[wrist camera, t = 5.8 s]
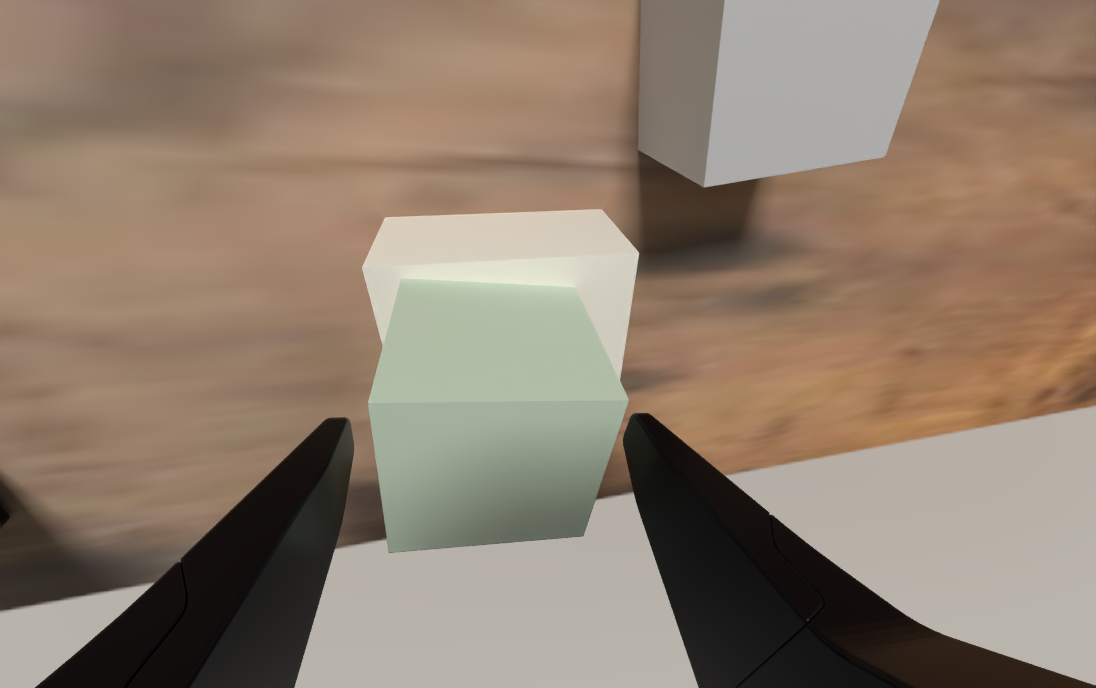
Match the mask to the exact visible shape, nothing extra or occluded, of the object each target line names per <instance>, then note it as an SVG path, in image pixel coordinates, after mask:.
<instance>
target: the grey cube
mask: <svg viewBox="0 0 1096 688" xmlns="http://www.w3.org/2000/svg"><path fill="white" fill-rule="evenodd" d="M939 1H940V0H641V4H640V61H639V118H638V150H639V151H641V152H643V153H644V154H646V155H648V156H650V157H651V158H653V159H655V160H657V161H658V162H660V163H662V164H664V165H665V166H667V167H669V168H671V169H672V170H674V171H676V172H678V173H679V174H681V175H683V176H685V177H686V178H688V179H690V180H692V181H693V182H695V183H697V184H699V185H700V186H702V187H710V186H716V185H722V184H728V183H734V182H740V181H745V180H751V179H757V178H763V177H769V176H775V175H781V174H787V173H793V172H799V171H805V170H811V169H816V168H822V167H828V166H834V165H840V164H846V163H852V162H858V161H864V160H870V159H876V158H881V157H885V155H886V152H887V150H888V147H889V144H890V141H891V138H892V135H893V132H894V130H895V127H896V124H897V121H898V118H899V115H900V112H901V110H902V107H903V104H904V101H905V98H906V95H907V92H908V90H909V87H910V84H911V81H912V78H913V75H914V72H915V70H916V67H917V64H918V61H919V58H920V55H921V52H922V50H923V47H924V44H925V41H926V38H927V35H928V32H929V30H930V27H931V24H932V21H933V18H934V15H935V12H936V10H937V7H938V4H939Z"/></svg>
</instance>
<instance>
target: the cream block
mask: <svg viewBox="0 0 1096 688" xmlns="http://www.w3.org/2000/svg"><path fill="white" fill-rule="evenodd" d="M638 258H639V252H638V251H637V250H636V249H635V247H634V246H633V245H632V244H631V243H630V242H629V240H628V239H627V238H626V237H625V236H624V235H623V234H622V232H621V231H620V230H619V229H618V228H617V227H616V225H615V224H614V223H613V222H612V221H611V220H610V219H609V217H608V216H607V215H606V214H605V213H604V212H603V210H602V209H597V210H571V211H544V212H518V213H491V214H465V215H438V216H412V217H385V219H384V221H383V223H382V225H381V228H380V230H379V232H378V234H377V236H376V238H375V241H374V243H373V245H372V247H371V249H370V251H369V254H368V256H367V258H366V260H365V262H364V264H363V267H362V270H363V274H364V277H365V281H366V285H367V289H368V292H369V296H370V300H371V304H372V307H373V311H374V315H375V319H376V322H377V326H378V330H379V334H380V338H381V341H382V345H384V341H385V337H386V333H387V330H388V326H389V322H390V318H391V315H392V311H393V307H394V303H395V300H396V296H397V292H398V288H399V284H400V281H401V278H407V279H427V280H446V281H466V282H486V283H505V284H525V285H544V286H564V287H576V289H577V292H578V294H579V296H580V298H581V300H582V302H583V304H584V306H585V308H586V311H587V313H588V315H589V317H590V319H591V321H592V323H593V325H594V327H595V330H596V332H597V334H598V336H599V338H600V340H601V342H602V344H603V347H604V349H605V351H606V353H607V355H608V357H609V359H610V361H611V363H612V366H613V368H614V370H615V372H616V374H617V376H618V378H619V380H620V376H621V369H622V363H623V356H624V349H625V343H626V336H627V330H628V323H629V317H630V310H631V304H632V297H633V290H634V284H635V277H636V271H637V264H638Z"/></svg>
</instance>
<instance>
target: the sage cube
mask: <svg viewBox="0 0 1096 688" xmlns="http://www.w3.org/2000/svg"><path fill="white" fill-rule="evenodd" d="M628 401H629V399H628V397H627V395H626V393H625V391H624V389H623V387H622V385H621V382H620V380H619V378H618V376H617V374H616V372H615V370H614V368H613V366H612V363H611V361H610V359H609V357H608V355H607V353H606V351H605V349H604V347H603V344H602V342H601V340H600V338H599V336H598V334H597V332H596V330H595V327H594V325H593V323H592V321H591V319H590V317H589V315H588V313H587V311H586V308H585V306H584V304H583V302H582V300H581V298H580V296H579V294H578V292H577V289H576V287H564V286H544V285H525V284H505V283H486V282H466V281H446V280H427V279H407V278H401V281H400V284H399V288H398V292H397V296H396V300H395V303H394V307H393V311H392V315H391V318H390V322H389V326H388V330H387V333H386V337H385V341H384V345H383V348H382V352H381V356H380V360H379V363H378V367H377V371H376V375H375V378H374V382H373V386H372V390H371V394H370V397H369V401H368V407H369V414H370V421H371V428H372V435H373V442H374V450H375V457H376V464H377V471H378V478H379V485H380V493H381V500H382V507H383V514H384V521H385V528H386V535H387V543H388V550H389V553H393V552H404V551H416V550H428V549H439V548H452V547H463V546H475V545H487V544H499V543H510V542H522V541H534V540H546V539H558V538H568V537H580V536H583V535H584V532H585V529H586V526H587V523H588V521H589V518H590V514H591V512H592V509H593V505H594V503H595V500H596V497H597V494H598V491H599V488H600V485H601V482H602V479H603V476H604V473H605V470H606V467H607V464H608V461H609V458H610V455H611V452H612V449H613V446H614V443H615V440H616V437H617V434H618V431H619V428H620V425H621V422H622V419H623V416H624V413H625V410H626V407H627V404H628Z"/></svg>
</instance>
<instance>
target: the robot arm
mask: <svg viewBox="0 0 1096 688" xmlns="http://www.w3.org/2000/svg"><path fill="white" fill-rule="evenodd" d="M623 446H624V451H625V455H626V460H627V464H628V469H629V473H630V478H631V482H632V487H633V491H634V495H635V499H636V503H637V506H638V509H639V513H640V516H641V518H642V522H643V525H644V527H645V530H646V533H647V536H648V539H649V542H650V545H651V548H652V551H653V554H654V557H655V560H656V563H657V566H658V569H659V572H660V575H661V578H662V580H663V583H664V586H665V589H666V592H667V595H668V598H669V601H670V604H671V607H672V610H673V613H674V616H675V619H676V622H677V625H678V628H679V631H680V634H681V637H682V640H683V642H684V646H685V648H686V651H687V654H688V657H689V660H690V663H691V666H692V669H693V672H694V675H695V678H696V681H697V684H698V687H699V688H1096V685H1092V684H1089V683H1086V682H1083V681H1080V680H1077V679H1074V678H1071V677H1068V676H1065V675H1062V674H1059V673H1056V672H1053V671H1050V670H1047V669H1044V668H1041V667H1038V666H1035V665H1032V664H1029V663H1026V662H1023V661H1020V660H1017V659H1014V658H1011V657H1008V656H1005V655H1002V654H999V653H996V652H993V651H990V650H987V649H984V648H981V647H978V646H975V645H972V644H969V643H966V642H963V641H960V640H957V639H954V638H951V637H948V636H945V635H943V634H941V633H939V632H936V631H934V630H932V629H930V628H928V627H926V626H924V625H922V624H920V623H918V622H916V621H914V620H913V619H911V618H910V617H908V616H906V615H905V614H904V613H902V612H901V611H899V610H898V609H896V608H895V607H893V606H892V605H891V604H889V603H888V602H887V601H885V600H884V599H882V598H881V597H880V596H878V595H877V594H876V593H874V592H873V591H871V590H870V589H869V588H867V587H866V586H865V585H863V584H862V583H860V582H859V581H858V580H856V579H855V578H853V577H852V576H851V575H849V574H848V573H847V572H845V571H844V570H842V569H841V568H839V567H838V566H837V565H836V564H834V563H833V562H831V561H830V560H829V559H827V558H826V557H825V556H823V555H822V554H820V553H819V552H818V551H817V550H815V549H814V548H813V547H811V546H810V545H809V544H808V543H806V542H805V541H804V540H803V539H801V538H800V537H799V536H798V535H796V534H795V533H794V532H793V531H791V530H790V529H789V528H787V527H786V526H785V525H784V524H783V523H781V522H780V521H779V520H778V519H777V518H775V517H774V516H773V515H770V514H769V512H768V511H767V510H766V509H764V508H763V507H762V506H760V505H759V504H758V503H757V502H756V501H755V500H753V499H752V498H751V497H750V496H749V495H747V494H746V493H745V492H744V491H742V490H741V489H740V488H739V487H738V486H736V485H735V484H734V483H733V482H732V481H730V480H729V479H728V478H727V477H726V476H724V475H723V474H722V473H721V472H720V471H718V470H717V469H716V468H715V467H713V466H712V465H711V464H710V463H709V462H707V461H706V460H705V459H704V458H703V457H701V456H700V455H699V454H698V453H697V452H695V451H694V450H693V449H692V448H690V447H689V446H688V445H687V444H686V443H684V442H683V441H682V440H681V439H680V438H678V437H677V436H676V435H675V434H674V433H672V432H671V431H670V430H669V429H667V428H666V427H665V426H664V425H663V424H661V423H660V422H659V421H658V420H657V419H655V418H654V417H653V416H652V415H650V414H648V413H634V414H632V415H631V417H630V419H629V422H628V425H627V428H626V430H625V433H624V437H623ZM353 454H354V442H353V436H352V430H351V424H350V421H349V419H348V418H346V417H340V418H328V419H326V420H325V421H323V422H322V423H321V424H320V425H319V426H318V427H317V428H316V429H315V430H314V431H313V432H312V433H311V434H310V435H309V436H308V437H307V438H306V439H305V440H304V441H303V442H302V443H301V444H299V445H298V446H297V447H296V448H295V449H294V450H293V451H292V452H291V453H290V454H289V455H288V456H287V457H286V458H285V459H284V460H283V461H282V462H281V463H280V464H279V465H278V466H277V467H276V468H274V469H273V470H272V471H271V472H270V473H269V474H268V475H267V476H266V477H265V478H264V479H263V480H262V481H261V482H260V483H259V484H258V485H257V486H256V487H255V488H254V489H253V490H252V491H251V492H249V493H248V494H247V495H246V496H245V497H244V498H243V499H242V500H241V501H240V502H239V503H238V504H237V505H236V506H235V507H234V508H233V509H232V510H231V511H230V512H229V513H228V514H227V515H226V516H224V517H223V518H222V519H221V520H220V521H219V522H218V523H217V524H216V525H215V526H214V527H213V528H212V529H211V530H210V531H209V532H208V533H207V534H206V535H205V536H204V537H203V538H202V539H201V540H199V541H198V542H197V543H196V544H195V545H194V546H193V547H192V548H191V549H190V550H189V551H188V552H187V553H186V554H185V555H184V556H183V557H182V558H181V562H177V563H175V564H174V565H173V566H172V567H171V568H170V569H169V570H168V571H167V572H166V573H165V574H164V575H163V576H162V577H161V578H160V579H159V580H158V581H157V582H155V583H154V584H153V585H152V586H151V587H150V588H149V589H148V590H147V591H146V592H145V593H144V594H143V595H141V597H139V598H138V599H137V600H136V601H135V602H134V603H133V604H132V605H131V606H130V607H128V609H127V610H125V611H124V612H123V613H122V614H121V615H120V616H119V617H118V618H116V619H115V620H114V621H113V622H112V623H110V624H109V626H107V627H106V628H105V629H104V630H102V631H101V632H100V633H99V634H98V635H97V636H95V637H94V638H93V639H92V640H91V641H90V642H89V643H87V644H86V645H85V646H84V647H83V648H82V649H80V651H78V652H77V653H76V654H75V655H73V656H72V657H71V658H70V659H69V660H68V661H66V662H65V663H64V664H63V665H62V666H60V667H59V668H58V669H57V670H55V671H54V672H53V673H52V674H51V675H50V676H48V677H47V678H46V679H45V680H44V681H42V682H41V683H40V684H39V685H38V686H36V687H35V688H294V687H295V683H296V680H297V677H298V673H299V669H300V666H301V663H302V659H303V655H304V652H305V649H306V646H307V642H308V639H309V635H310V632H311V628H312V625H313V622H314V618H315V614H316V611H317V608H318V605H319V601H320V598H321V594H322V590H323V587H324V584H325V580H326V577H327V573H328V570H329V566H330V563H331V560H332V556H333V553H334V550H335V546H336V543H337V539H338V536H339V532H340V528H341V525H342V520H343V515H344V510H345V504H346V497H347V491H348V485H349V479H350V473H351V467H352V461H353ZM9 519H10V517H9V515H8V514H7V513H6V512H5V511H4V510H3V509H2V508H1V507H0V529H1V528H2V527H3V526H4V525H5V524H6V523H7V521H8V520H9Z"/></svg>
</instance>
